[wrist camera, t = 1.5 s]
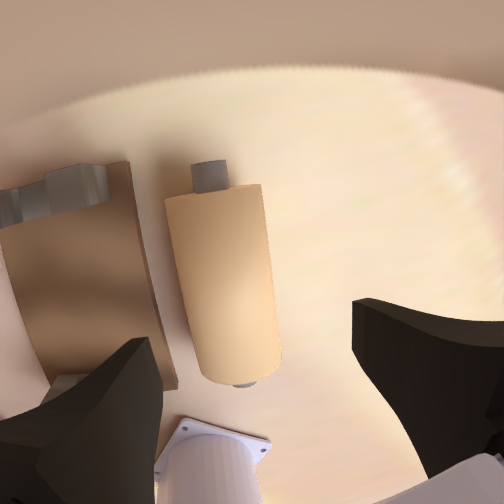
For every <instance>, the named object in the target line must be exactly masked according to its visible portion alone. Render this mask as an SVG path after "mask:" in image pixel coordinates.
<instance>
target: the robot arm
mask: <svg viewBox="0 0 504 504" xmlns="http://www.w3.org/2000/svg"><path fill="white" fill-rule="evenodd" d="M352 351H353V353H354V355H355V356H356V358H357V360H358V362H359V364H360V366H361V368H362V369H363V371H364V372H365V373H366V375H367V376H368V377H369V379H370V380H371V381H372V383H373V384H374V385H375V387H376V388H377V389H378V391H379V392H380V393H381V394H382V396H383V397H384V398H385V400H386V401H387V402H388V404H389V405H390V406H391V408H392V409H393V410H394V412H395V413H396V415H397V416H398V418H399V420H400V422H401V423H402V425H403V427H404V429H405V430H406V432H407V434H408V436H409V438H410V440H411V442H412V444H413V446H414V448H415V450H416V452H417V454H418V456H419V458H420V461H421V463H422V465H423V467H424V470H425V472H426V474H427V477H428V480H426V481H424V482H422V483H420V484H418V485H416V486H414V487H412V488H410V489H408V490H405V491H403V492H401V493H399V494H396V495H394V496H392V497H389V498H387V499H384V500H382V501H379V502H377V503H374V504H504V321H471V320H461V319H454V318H447V317H442V316H437V315H433V314H428V313H424V312H420V311H416V310H413V309H409V308H406V307H402V306H399V305H395V304H392V303H388V302H385V301H381V300H377V299H372V298H364V299H360V300H356V301H352ZM162 408H163V382H162V379H161V376H160V373H159V370H158V367H157V363H156V360H155V357H154V354H153V351H152V347H151V344H150V341H149V337H139V338H132V339H130V340H129V341H127V342H126V343H125V344H124V345H122V346H121V347H120V348H119V349H118V350H117V351H116V352H115V353H113V354H112V355H111V356H110V357H109V358H108V359H107V360H105V361H104V362H103V363H102V364H101V365H100V366H99V367H97V368H96V369H95V370H94V371H92V372H91V373H90V374H89V375H87V376H86V377H85V378H84V379H82V380H81V381H80V382H79V383H77V384H76V385H74V386H73V387H71V388H70V389H68V390H67V391H65V392H64V393H62V394H60V395H59V396H57V397H55V398H53V399H52V400H50V401H48V402H46V403H44V404H42V405H40V406H38V407H36V408H34V409H32V410H29V411H27V412H24V413H22V414H19V415H16V416H14V417H11V418H8V419H5V420H1V421H0V504H155V497H154V481H156V482H158V492H157V504H263V503H262V498H261V494H260V489H259V484H258V480H257V475H256V470H255V466H256V465H257V464H258V462H259V461H260V460H261V459H262V458H263V457H264V456H265V454H266V453H267V452H268V451H269V450H270V449H271V447H272V443H271V441H269V440H264V439H260V438H256V437H252V436H248V435H244V434H240V433H237V432H233V431H229V430H226V429H222V428H219V427H216V426H212V425H209V424H206V423H203V422H200V421H197V420H194V419H191V418H183V419H182V420H181V421H180V423H179V424H178V426H177V428H176V430H175V431H174V433H173V435H172V436H171V438H170V440H169V441H168V443H167V445H166V446H165V448H164V450H163V451H162V453H161V455H160V456H159V458H158V460H157V461H156V463H155V453H156V447H157V440H158V434H159V428H160V421H161V415H162ZM183 427H187V428H183ZM263 448H264V449H263ZM154 463H155V465H154Z"/></svg>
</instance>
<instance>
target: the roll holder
mask: <svg viewBox="0 0 504 504" xmlns="http://www.w3.org/2000/svg"><path fill="white" fill-rule="evenodd" d="M0 242H1V246H2V251H3V255H4V259H5V263H6V267H7V270H8V274H9V278H10V281H11V285H12V288H13V291H14V295H15V298H16V301H17V304H18V307H19V310H20V313H21V316H22V319H23V321H24V324H25V327H26V330H27V332H28V335H29V337H30V340H31V342H32V345H33V347H34V350H35V352H36V355H37V357H38V359H39V362H40V364H41V366H42V368H43V371H44V373H45V375H46V377H47V379H48V381H49V383H50V385H51V387H50V389H49V391H48V392H47V394H46V396H45V397H44V399H43V401H42V402H41V404H40V405H42V404H44V403H46V402H48V401H50V400H52V399H53V398H55V397H57V396H59V395H60V394H62V393H64V392H65V391H67V390H68V389H70V388H71V387H73V386H74V385H76V384H77V383H79V382H80V381H81V380H82V379H84V378H85V377H86V376H87V375H89V374H90V373H91V372H92V371H94V370H95V369H96V368H97V367H99V366H100V365H101V364H102V363H103V362H104V361H105V360H107V359H108V358H109V357H110V356H111V355H112V354H113V353H115V352H116V351H117V350H118V349H119V348H120V347H121V346H122V345H124V344H125V343H126V342H127V341H129V340H130V339H132V338H139V337H149V341H150V344H151V347H152V351H153V354H154V357H155V360H156V363H157V367H158V370H159V373H160V376H161V379H162V382H163V391H168V390H177V389H178V378H177V375H176V372H175V368H174V365H173V362H172V358H171V355H170V351H169V348H168V344H167V341H166V337H165V334H164V330H163V326H162V322H161V319H160V315H159V311H158V307H157V303H156V299H155V295H154V291H153V286H152V282H151V278H150V273H149V269H148V264H147V259H146V255H145V250H144V245H143V240H142V235H141V230H140V224H139V219H138V213H137V208H136V202H135V196H134V189H133V183H132V176H131V170H130V162H127V161H124V162H120V163H116V164H111V165H107V166H103V165H93V164H81V163H80V164H76V165H73V166H69V167H65V168H62V169H59V170H55V171H52V172H48V173H45V180H43V181H40V182H37V183H33V184H30V185H27V186H24V187H21V188H18V189H9V190H1V191H0Z"/></svg>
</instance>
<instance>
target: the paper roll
mask: <svg viewBox="0 0 504 504" xmlns="http://www.w3.org/2000/svg"><path fill="white" fill-rule="evenodd" d="M191 171H192V178H193V185H194V191H195V192H194V193H189V194H184V195H179V196H174V197H170V198H167V199H164V202H165V208H166V214H167V220H168V225H169V231H170V236H171V242H172V247H173V252H174V258H175V263H176V268H177V273H178V277H179V282H180V287H181V292H182V296H183V301H184V305H185V310H186V314H187V319H188V323H189V327H190V331H191V335H192V340H193V344H194V348H195V352H196V356H197V360H198V364H199V367H200V371H201V373H202V374H203V376H204V377H206V378H207V379H209V380H210V381H213V382H215V383H219V384H225V385H232V386H234V387H237V388H246V387H250V386H252V385H254V384H255V383H256V382H257V381H258V380H260V379H262V378H264V377H266V376H268V375H270V374H271V373H272V372H274V371H275V370H276V369H277V367H278V366H279V365H280V363H281V359H282V354H281V345H280V336H279V328H278V319H277V310H276V302H275V293H274V285H273V276H272V268H271V260H270V252H269V244H268V236H267V228H266V220H265V212H264V205H263V197H262V189H261V184H252V185H242V186H233V187H229V180H228V173H227V166H226V160H216V161H209V162H203V163H198V164H193V165H191Z"/></svg>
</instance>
